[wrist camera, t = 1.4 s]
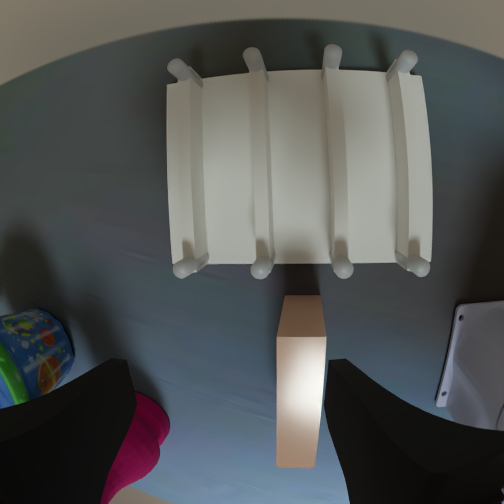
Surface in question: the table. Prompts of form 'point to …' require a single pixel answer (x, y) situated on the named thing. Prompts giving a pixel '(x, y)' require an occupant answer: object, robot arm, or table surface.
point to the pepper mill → (138, 447)
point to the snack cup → (31, 356)
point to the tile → (299, 380)
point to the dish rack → (299, 167)
